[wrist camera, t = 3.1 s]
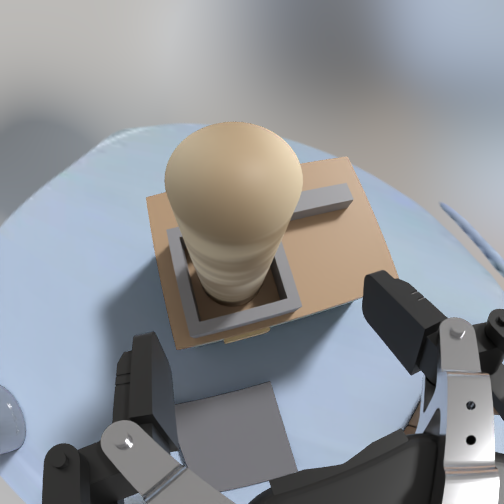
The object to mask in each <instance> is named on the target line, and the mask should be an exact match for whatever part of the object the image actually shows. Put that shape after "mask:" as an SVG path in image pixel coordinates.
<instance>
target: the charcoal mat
mask: <svg viewBox="0 0 504 504" xmlns="http://www.w3.org/2000/svg"><path fill="white" fill-rule="evenodd" d="M175 416H176V425H177V434H178V442H179V445H180V448H181V451H182V453H183V456H184V459H185V462H186V464H187V467H188V469H190V470H191V471H192V472H194V473H195V474H196V475H197V476H199V477H200V478H201V479H202V480H204V481H205V482H206V483H208V484H209V485H210V486H212V487H213V488H214V489H216V490H217V491H218V492H220V491H226V490H230V489H235V488H240V487H244V486H248V485H252V484H256V483H260V482H264V481H268V480H271V479H275V478H278V477H282V476H285V475H288V474H291V473H294V472H298V470H297V467H296V464H295V460H294V457H293V454H292V451H291V448H290V444H289V441H288V438H287V435H286V431H285V428H284V425H283V422H282V418H281V415H280V412H279V408H278V405H277V402H276V398H275V395H274V392H273V388H272V385H271V382H270V381H269V382H266V383H262V384H259V385H255V386H252V387H248V388H244V389H240V390H237V391H233V392H229V393H225V394H221V395H217V396H212V397H208V398H204V399H199V400H195V401H190V402H185V403H180V404H175Z"/></svg>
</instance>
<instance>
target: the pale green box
mask: <svg viewBox="0 0 504 504" xmlns="http://www.w3.org/2000/svg"><path fill="white" fill-rule="evenodd" d="M300 165H301V169H302V174H303V186H302V192H301V195H300V198H299V201H298V203H297V205H296V208H295V210H294V212H293V215H292V217H291V219H290V222H289V224H288V226H287V229H286V231H285V233H284V236H283V238H282V240H281V242H280V245H279V247H278V249H277V252H276V254H275V256H274V258H273V261H272V263H271V265H270V267H269V270H268V272H267V274H266V276H265V279H264V281H263V283H262V285H261V288H260V290H259V292H258V293H257V295H256V296H255V297H254V298H253V299H252V300H251V301H249V302H248V303H246V304H244V305H241V306H236V307H227V306H223V305H220V304H218V303H216V302H214V301H213V300H212V299H210V298H209V297H208V295H207V294H206V293H205V291H204V289H203V287H202V284H201V282H200V279H199V277H198V274H197V272H196V270H195V267H194V265H193V262H192V260H191V257H190V255H189V252H188V250H187V247H186V244H185V242H184V239H183V237H182V234H181V232H180V229H179V226H178V224H177V221H176V218H175V216H174V213H173V210H172V208H171V205H170V202H169V200H168V197H167V193H166V192H165V193H161V194H157V195H153V196H150V197H146V201H147V208H148V214H149V220H150V227H151V233H152V238H153V244H154V250H155V255H156V260H157V266H158V271H159V276H160V281H161V286H162V290H163V295H164V300H165V304H166V309H167V313H168V317H169V322H170V326H171V330H172V334H173V338H174V342H175V346H176V350H181V349H185V348H190V347H199V346H203V345H207V344H211V343H215V342H219V341H223V340H224V343H225V344H227V343H231V342H235V341H239V340H242V339H246V338H250V337H253V336H257V335H261V334H264V333H267V332H269V331H270V328H271V327H274V326H278V325H281V324H284V323H288V322H291V321H294V320H298V319H301V318H304V317H307V316H311V315H314V314H317V313H320V312H323V311H326V310H329V309H333V308H336V307H339V306H342V305H345V304H347V303H350V302H353V301H355V300H358V299H360V298H362V297H363V287H364V278H365V276H366V275H368V274H371V273H374V272H377V271H380V270H385V271H386V272H388V273H389V274H390V275H391V276H392V277H393V278H394V279H396V278H398V279H399V277H398V274H397V271H396V269H395V266H394V263H393V260H392V258H391V255H390V252H389V250H388V247H387V245H386V242H385V240H384V237H383V235H382V232H381V230H380V227H379V225H378V222H377V220H376V218H375V215H374V213H373V211H372V208H371V206H370V204H369V201H368V199H367V197H366V195H365V192H364V190H363V188H362V186H361V184H360V181H359V179H358V177H357V175H356V173H355V171H354V169H353V167H352V165H351V163H350V161H349V159H348V157H340V158H333V159H327V160H320V161H314V162H308V163H302V164H300Z"/></svg>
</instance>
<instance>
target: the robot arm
mask: <svg viewBox="0 0 504 504" xmlns="http://www.w3.org/2000/svg"><path fill="white" fill-rule="evenodd" d="M362 311H363V315H364V317H365V319H366V321H367V322H368V323H369V325H370V326H371V327H372V328H373V329H374V331H375V332H376V333H377V334H378V335H379V337H380V338H381V339H382V340H383V341H384V343H385V344H386V345H387V346H388V348H389V349H390V350H391V351H392V352H393V354H394V355H395V356H396V357H397V359H398V360H399V361H400V362H401V364H402V365H403V366H404V367H405V369H406V370H407V371H408V372H409V374H410V375H413V374H415V373H417V372H419V371H422V372H423V373H424V375H423V379H422V393H421V407H420V417H419V422H418V426H417V429H416V432H415V434H408V435H405V433H404V432H403V430H402V429H399V430H397V431H395V432H393V433H391V434H389V435H387V436H385V437H383V438H381V439H379V440H377V441H375V442H372V443H371V444H370V445H369V446H367V447H366V448H365V449H363V450H362V451H361V452H359V453H358V454H357V455H355V456H354V457H353V458H351V459H350V460H348V461H347V462H346V463H344V464H341V465H336V466H329V467H322V468H314V469H306V470H302V471H299V472H296V473H292V474H289V475H286V476H283V477H279V478H276V479H272V480H269V482H270V485H271V488H269V489H267V490H265V491H264V492H262V493H261V494H259V495H258V496H256V497H255V498H254V499H253V500H252V501H250V502H249V503H248V504H504V454H502V453H497V452H495V434H494V413H493V407H494V408H495V410H496V411H497V412H498V414H499V415H500V416H501V418H502V419H503V420H504V365H503V364H502V362H503V360H504V309H496V310H493V311H492V312H491V313H490V314H489V317H488V320H487V322H485V323H480V324H475V325H471V324H470V323H469V322H468V321H466V320H464V319H461V318H455V317H453V318H447V317H446V316H445V315H444V314H443V313H441V312H440V311H439V310H438V309H437V308H436V307H435V306H434V305H433V304H432V303H431V302H429V301H428V300H427V299H426V298H424V296H423V295H422V294H420V293H419V292H417V290H416V289H415V288H414V287H412V286H411V285H410V284H409V283H407V282H405V281H403V280H400V279H398V278H396V279H394V278H393V277H392V276H391V275H390V274H389V273H388V272H386V271H385V270H380V271H377V272H374V273H371V274H368V275H366V276H365V278H364V287H363V301H362ZM116 376H117V377H116V383H115V385H116V387H115V395H114V408H113V422H112V424H111V425H109V426H108V427H107V428H106V429H105V431H104V432H103V434H102V437H101V440H100V441H99V442H97V443H94V444H92V445H89V446H87V447H84V448H82V449H79V450H77V449H76V448H75V447H73V446H72V445H70V444H66V443H62V444H58V445H55V446H54V447H52V448H51V449H50V450H49V451H48V453H47V454H46V457H45V460H44V471H43V490H42V504H124V498H126V497H129V496H132V495H134V494H137V493H140V494H141V495H142V496H143V498H144V501H145V502H146V503H147V504H235V503H234V502H232V501H231V500H230V499H228V498H227V497H225V496H224V495H223V494H221V493H220V492H218V491H217V490H216V489H214V488H213V487H212V486H210V485H209V484H208V483H206V482H205V481H204V480H202V479H201V478H200V477H199V476H197V475H196V474H195V473H194V472H192V471H191V470H190V469H188V468H187V467H186V466H184V465H181V464H180V463H179V462H177V461H176V460H175V459H174V458H173V457H172V456H171V455H170V452H174V451H180V450H179V442H178V434H177V425H176V416H175V405H174V394H173V382H172V373H171V369H170V365H169V362H168V360H167V358H166V355H165V353H164V351H163V349H162V347H161V345H160V342H159V340H158V338H157V336H156V334H155V332H149V333H144V334H140V335H135V336H134V337H133V346H132V351H128V352H124V353H123V355H122V357H121V358H120V360H119V362H118V364H117V373H116ZM25 433H26V429H25V421H24V417H23V414H22V411H21V409H20V407H19V405H18V403H17V401H16V400H15V398H14V397H13V395H12V394H11V393H10V392H9V391H8V390H7V389H6V388H4V387H2V386H1V385H0V455H1V454H4V453H7V452H10V451H13V450H16V449H18V448H19V447H21V445H22V444H23V442H24V439H25Z"/></svg>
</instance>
